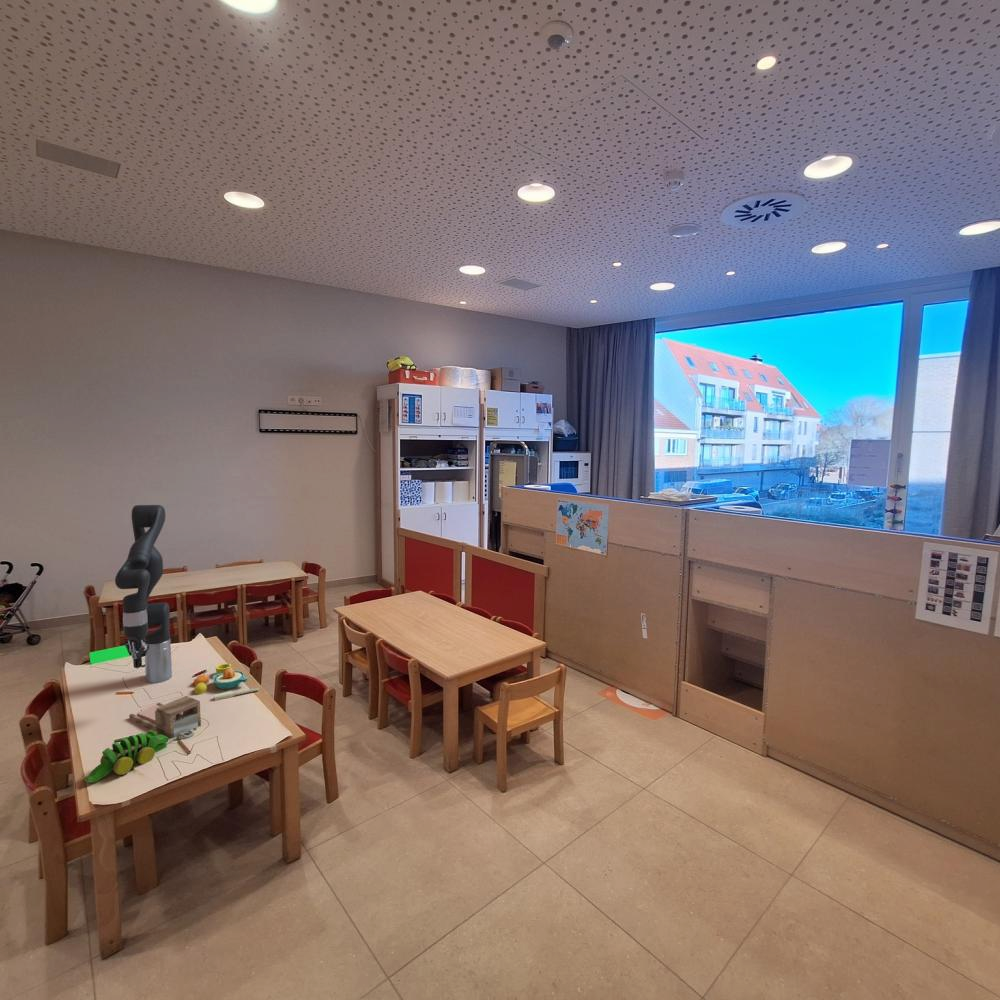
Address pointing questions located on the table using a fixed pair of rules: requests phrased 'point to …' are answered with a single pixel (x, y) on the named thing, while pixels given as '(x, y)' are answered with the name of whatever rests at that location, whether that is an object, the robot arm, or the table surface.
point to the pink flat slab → (150, 714)
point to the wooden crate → (165, 717)
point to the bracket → (108, 654)
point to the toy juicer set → (222, 681)
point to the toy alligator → (131, 753)
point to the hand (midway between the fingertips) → (137, 667)
